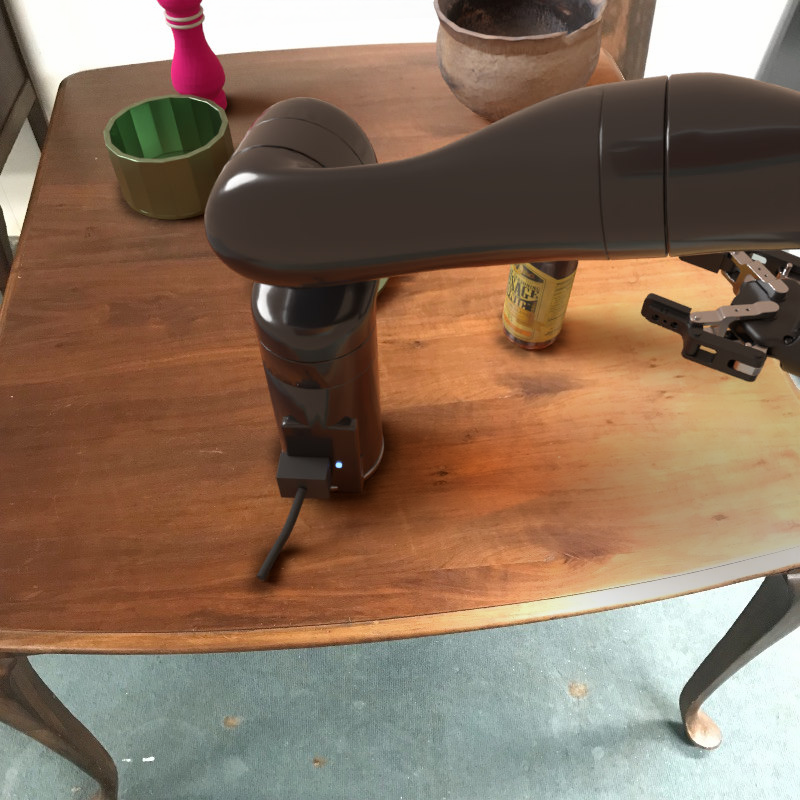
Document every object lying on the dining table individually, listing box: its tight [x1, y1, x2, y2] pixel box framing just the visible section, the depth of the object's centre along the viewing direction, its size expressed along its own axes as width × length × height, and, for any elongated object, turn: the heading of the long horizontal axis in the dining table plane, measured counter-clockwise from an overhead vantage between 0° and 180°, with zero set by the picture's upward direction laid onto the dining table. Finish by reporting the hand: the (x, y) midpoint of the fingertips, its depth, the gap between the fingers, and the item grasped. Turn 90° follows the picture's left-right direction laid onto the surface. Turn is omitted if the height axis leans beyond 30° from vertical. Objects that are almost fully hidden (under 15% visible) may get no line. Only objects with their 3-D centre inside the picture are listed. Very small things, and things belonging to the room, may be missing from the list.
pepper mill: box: [156, 0, 228, 111], centre depth 102 cm, size 7×7×20 cm
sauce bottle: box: [501, 260, 579, 350], centre depth 73 cm, size 6×6×20 cm
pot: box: [103, 93, 235, 221], centre depth 95 cm, size 14×14×8 cm
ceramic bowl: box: [433, 0, 611, 123], centre depth 103 cm, size 22×22×15 cm
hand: (663, 274), depth 67 cm, fingers open, 8 cm apart
